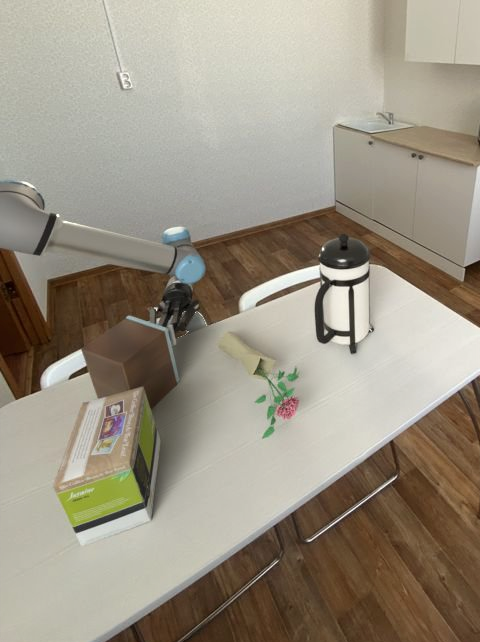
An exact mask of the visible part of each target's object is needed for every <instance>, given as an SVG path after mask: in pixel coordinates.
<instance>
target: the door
mask: <svg viewBox="0 0 480 642" xmlns="http://www.w3.org/2000/svg"><path fill="white" fill-rule="evenodd" d="M125 319H127V320H130V321H133V322H136V323H140V324H143V325H146V326H149V327H153V328H156V329H159V330H162V331H165V335H166V339H167V343H168V348H169V352H170V356H171V360H172V365H173V369H174V373H175V377H176V381H177V384H178V383H179V382H180V380H181V379H180V376H179V371H178V367H177V363H176V359H175V355H174V350H173V346H176V345H177V338H176V337H175V334H174V329H173V325H172V324H170V323H169V324H168V325H167V327H166V328H165V327H162V326H159V325H158V324H157V325H156V324H153V323H150V322H149V321H148V320H145V319H141V318H139V317H135V316H132V315H127V316H125ZM168 331H169V333H168ZM169 335H170V337H169ZM170 339H171V341H170Z"/></svg>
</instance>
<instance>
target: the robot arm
mask: <svg viewBox="0 0 480 642" xmlns="http://www.w3.org/2000/svg"><path fill="white" fill-rule="evenodd" d="M45 206H46V203H45V199H44V197H43V194H42V193H41V191H40V190H39V189H38V188H37V187H36V186H34V185H33V184H31V183H29V182H27V181H24V180H19V179H3V180H2V179H1V180H0V249H4V250H7V251H12V252H16V253H20V254H21V253H22V254H27V255H32V256H39V257H43V256H45V255H47V254H54V255H60V256H65V257H70V258H74V259H80V260H81V259H82V260H86V261H90V262H91V261H92V262H97V263H102V264H107V265H113V266H117V267H124V268H130V269H136V270H139V271H141V270H142V271H146V272H152V273H155V274H156V273H157V274H163V275H167V276H169V279H168V281H167V284H166V287H165V288H164V291H163V295H162V297H161V301H160V302H159V303H158V304H157V306H156V307H152V306H149V307H147V308H146V310H147V315H148V317H149V321H148V322H150V323H153V324H156V325H159V326H162V327H165V328H167V327H168V325H170V324H172V325H173V329H174V334H175V338H176V337H177V334H178V332H185V331H186V330H187V328H188V326H189V325H190V322H191V321H192V320H193V318H194V315H195V313H197V312H198V311H199V310H200V309H201V307H200V302H199V299H195V300H193V301H192V299H193V296H194V291H195V288H196V283H197V282H199V281H201V279H203V278H204V276H205V274H206V270H207V267H206V264H205V261H204V258H203V257H202V256H201V255H200V253H199V252H198V251H197V249H196V247H195V246H194V244H193V242H192V239H191V237H192V235H190V230H189V229H188V227H186V226H175V227H174V226H173V227H170V228H168V229H166V230H164V231H163V232H162V233H161V240H162V242H161V243H160V242H156V241H152V240H149V239H148V240H147V239H144V238H139V237H134V236H130V235H126V234H122V233H118V232H114V231H109V230H105V229H101V228H97V227H92V226H88V225H84V224H80V223H75V222H71V221H68V220H64V219H62V217H61V216H60V215H59V214H58V213H53V212H50V211H47V210H45ZM159 313H161V316H160V318H159V320H157V317H158V314H159ZM170 320H171V322H170ZM157 321H158V322H157ZM168 333H169V331H168ZM169 337H170V335H169ZM170 341H171V339H170Z"/></svg>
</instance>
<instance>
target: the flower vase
mask: <svg viewBox="0 0 480 642" xmlns="http://www.w3.org/2000/svg"><path fill="white" fill-rule="evenodd" d="M217 345H218V348H219V350H221V352H224V353H225V354H228V355H229V356H231V357H232V358H234V359H237V360H238V361H239V362H240V363H241V364H242V366H243V367H244V369H245V371H246V372H247V374H248V376H249V377H251V378H254V379H255V378H256V379H259V380H263V381H267V383H268V388H269V390H270V391H271V394H269V396H270V397H269V398H270V399H269V400H270V401H272V397H271V395H272V396H273V402H274V404H278V405H279V406H277V407H276V405H274V406H273V405H272V403H270V404H271V405H269V406H268V407H267V412H266V420H267V421H268V420H270V424H269V425H270V426H268V428H267V429H266V430H265V432H264V433H263V435H262V438H261V439H267V438H269V437H270V436H272V435H273V434H274V432H275V428H274V424H275V423H276V422H277V419H276V418H275V416H276V417H281V418H282V420H283V421H285V420H287V421H288V420H291V419H292V418H293V417H294V416H295V414H296V412H297V409H298V407H299V402H300V398H299V397H298V396H297V397H296V396H294V391H295V387H292V388H289V389H287V385H286V383H288V382H290V383H292V382H294V381H296V380H297V379H299V378H300V376H299V374H300V372H301V371H298V367H297V366H295V367H294V370H293V373H288V374H287V375H286V376H284V375H285V374H286V371H281V369H279V370H278V373H275V375H277V376H273V377H272V378H271V380H270V379H269V376H270V375H273V373H271V372H272V369H273V367H274V364H275V362H276V359H273V358H272V357H269V356H267V355H265V354H264V353H262V352H259V351H257V350H255V349H253V348H251V347H249V346H248V345H247V344H246V343H245V342H244V341H243V340H242V339H241V338H240V337H239V336H238V335H237V334H235V333H234V332H233V331H227V332H224V333H223V334H222V335H221V336H220V337H219V340H218V343H217ZM297 372H298V373H297ZM273 378H274V379H275V380H276V381H277V382H278V383H277V384H276V385H275V384H274V383H273V382H272V380H273ZM282 378H286V379H284V380H282ZM273 388H274V390H275V391H276V392H277V394H278V395H275V393H274V390H273ZM280 391H281V392H283V393H282V394H281V392H280ZM267 396H268V393H266V394H265V393H264V394H263V395H261V396H259V397H258V398H257V399H256V400H255V401H254V404H262V403H264V402H266V400H267ZM275 407H276V408H275ZM275 413H276V414H275ZM270 418H271V419H270Z"/></svg>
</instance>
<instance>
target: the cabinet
mask: <svg viewBox="0 0 480 642" xmlns="http://www.w3.org/2000/svg"><path fill="white" fill-rule="evenodd" d="M80 351H81V352H82V356H83V359H84V361H85V365H86V368H87V371H88V374H89V377H90V380H91V383H92V385H93V388H94V392H95V395H96V397H97V398H96V399H100V398H104V397H107V396H111V395H114V394H118V393H122V392H125V391H129V390H132V389H136V388H139V387H144V390H145V393H146V396H147V400H148V403H149V406H150V409H151V410H152V409H154V407H155V406H157V404H159V403H160V401H162V400H163V399H164V398H165V397H166V396H167V395H168V394H169V393H170V392H171V391H172V390H173V389H174V388H175V387H176V386H177V385H178V383H177V381H176V377H175V373H174V369H173V365H172V360H171V356H170V352H169V348H168V343H167V339H166V335H165V331H162V330H159V329H156V328H153V327H149V326H146V325H143V324H140V323H136V322H133V321H130V320H127V319H126V318H123V319H122V320H121V321H120V322H117V323H116V324H114V325H113V326H112V327H111V328H108V330H106V331H104V332H103V333H102V334H100V335H99V336H97V337H96V338H94V339H93V340H91V341H90V342H88V343H86V344H85V345H83V346H82V347H81V348H80Z"/></svg>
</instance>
